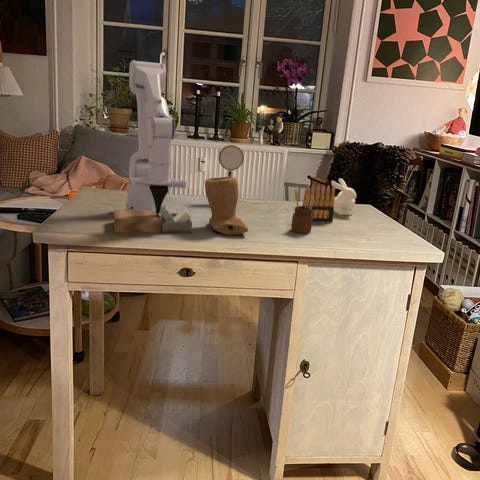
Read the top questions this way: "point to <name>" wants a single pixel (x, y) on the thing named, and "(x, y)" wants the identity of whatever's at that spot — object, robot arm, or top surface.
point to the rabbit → (344, 198)
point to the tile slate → (166, 214)
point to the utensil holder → (302, 217)
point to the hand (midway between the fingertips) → (157, 212)
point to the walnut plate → (137, 221)
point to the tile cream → (182, 216)
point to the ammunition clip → (320, 203)
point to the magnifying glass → (231, 158)
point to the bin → (175, 226)
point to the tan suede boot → (224, 205)
